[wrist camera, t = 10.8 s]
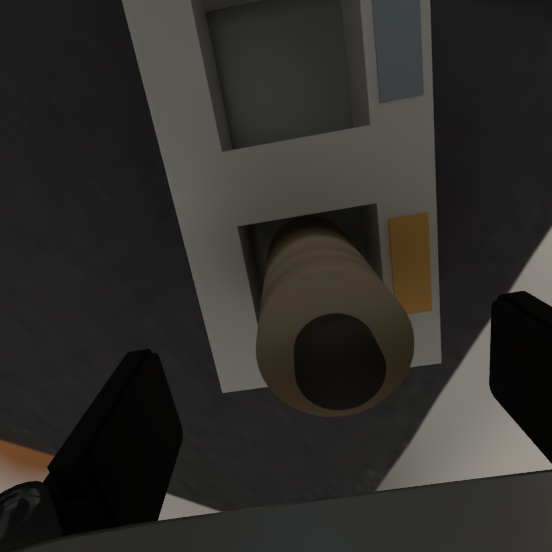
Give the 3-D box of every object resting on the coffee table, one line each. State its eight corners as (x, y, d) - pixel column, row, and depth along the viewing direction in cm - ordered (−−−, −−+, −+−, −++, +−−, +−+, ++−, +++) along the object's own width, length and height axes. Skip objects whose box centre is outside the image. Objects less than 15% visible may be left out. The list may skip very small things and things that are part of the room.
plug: (260, 224, 22) (236, 305, 10) (346, 209, 21) (424, 276, 10) (275, 302, 23) (269, 453, 11) (355, 290, 23) (432, 431, 11)
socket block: (145, -27, 19) (96, -91, 14) (390, -81, 18) (432, -170, 13) (233, 347, 25) (222, 395, 20) (413, 321, 24) (446, 364, 20)
